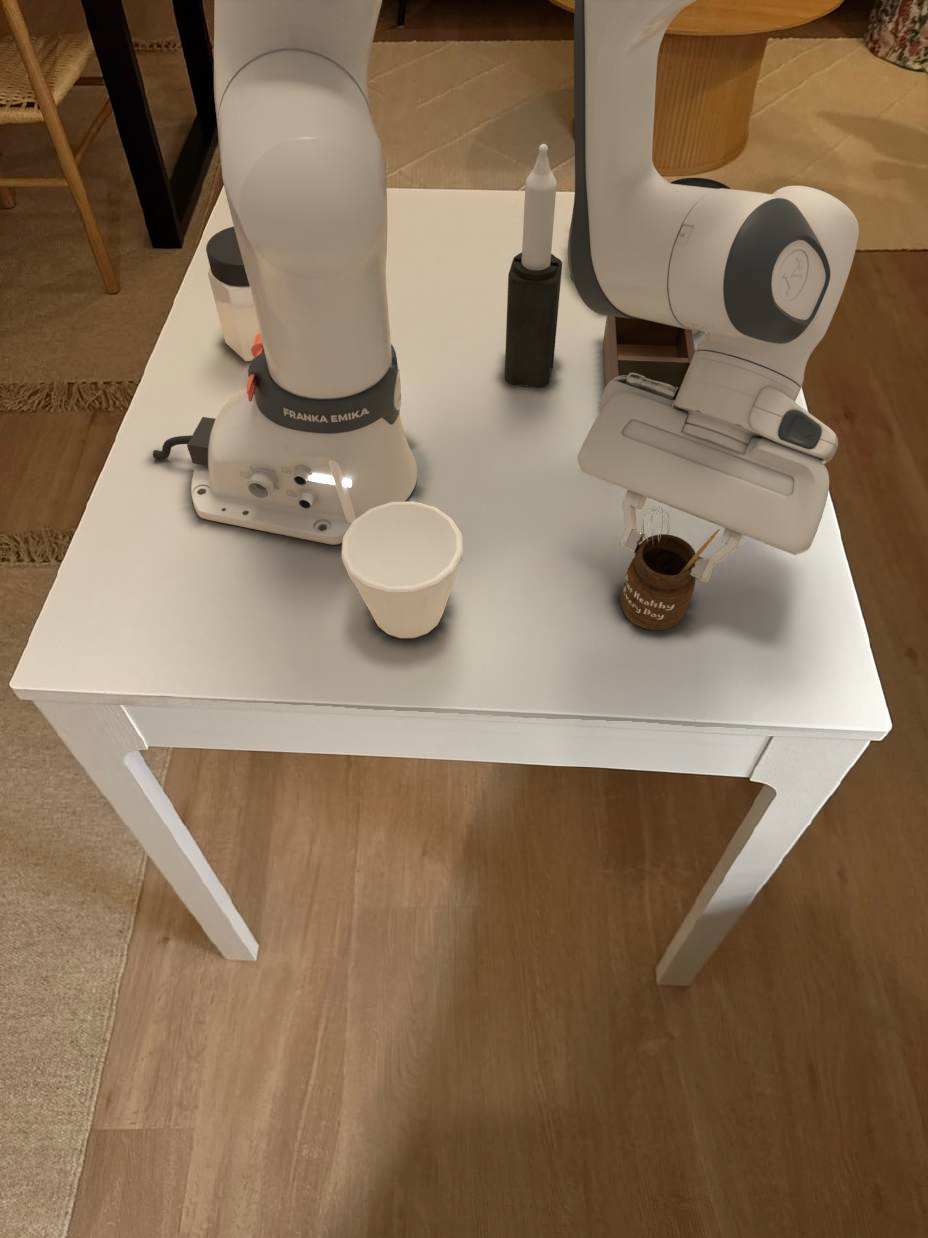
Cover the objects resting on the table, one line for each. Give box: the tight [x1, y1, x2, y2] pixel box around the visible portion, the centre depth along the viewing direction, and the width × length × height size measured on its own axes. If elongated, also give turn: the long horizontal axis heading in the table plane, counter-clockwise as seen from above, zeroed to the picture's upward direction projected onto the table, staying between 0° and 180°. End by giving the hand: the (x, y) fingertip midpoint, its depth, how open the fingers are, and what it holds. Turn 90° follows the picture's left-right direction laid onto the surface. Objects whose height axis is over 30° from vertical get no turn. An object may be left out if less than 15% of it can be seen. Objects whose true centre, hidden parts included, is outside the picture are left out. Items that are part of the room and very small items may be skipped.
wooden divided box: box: [602, 316, 696, 393], centre depth 97 cm, size 9×17×5 cm, turn 176°
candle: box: [503, 143, 563, 388], centre depth 91 cm, size 5×5×25 cm
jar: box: [205, 225, 260, 362], centre depth 100 cm, size 9×8×12 cm
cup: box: [341, 501, 464, 640], centre depth 77 cm, size 10×10×9 cm
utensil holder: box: [620, 506, 720, 631], centre depth 76 cm, size 6×6×12 cm
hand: (663, 564), depth 75 cm, fingers closed on utensil holder, 5 cm apart
